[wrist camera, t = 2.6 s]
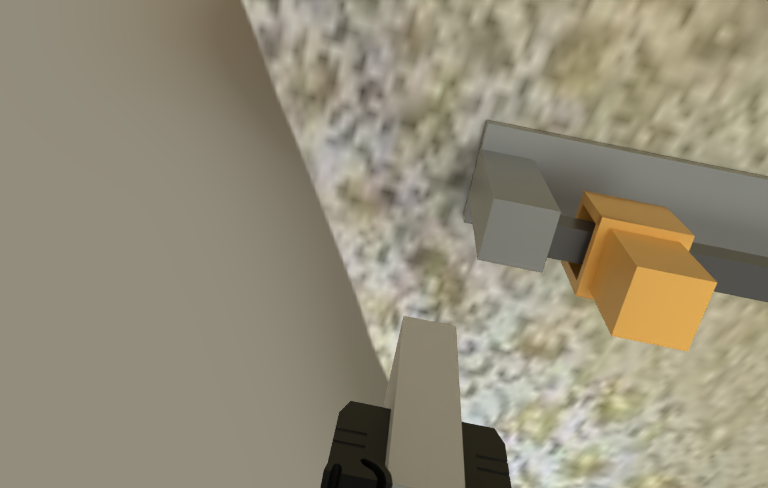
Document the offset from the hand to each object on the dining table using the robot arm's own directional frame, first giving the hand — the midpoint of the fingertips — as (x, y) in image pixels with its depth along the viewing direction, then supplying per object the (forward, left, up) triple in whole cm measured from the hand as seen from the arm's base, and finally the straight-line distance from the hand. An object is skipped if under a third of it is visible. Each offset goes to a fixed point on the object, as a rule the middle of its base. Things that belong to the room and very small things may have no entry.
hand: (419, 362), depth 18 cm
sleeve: (0, +9, -14) cm, 17 cm away
